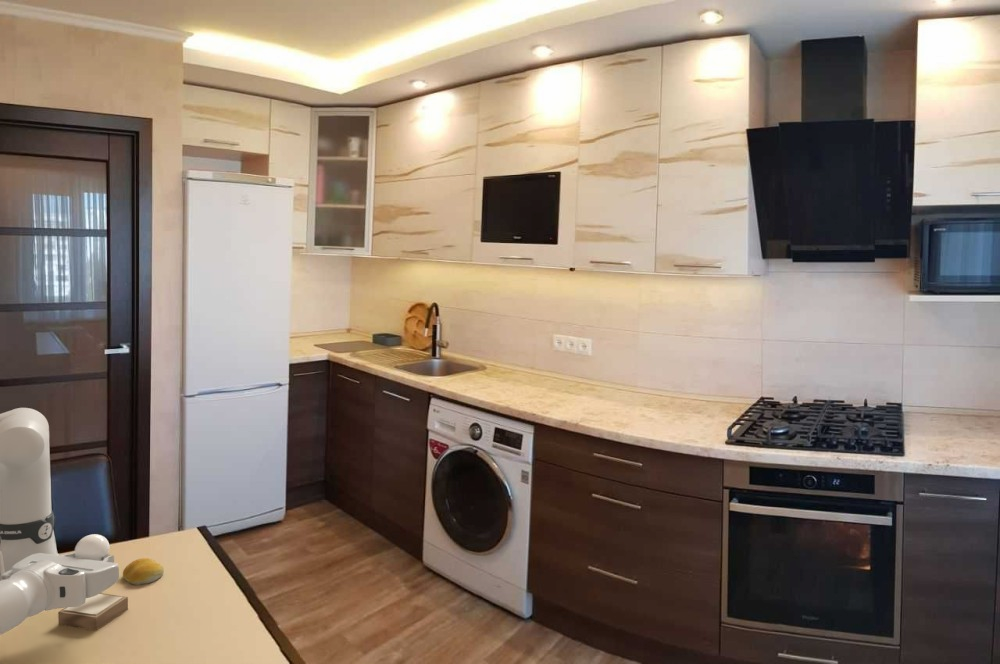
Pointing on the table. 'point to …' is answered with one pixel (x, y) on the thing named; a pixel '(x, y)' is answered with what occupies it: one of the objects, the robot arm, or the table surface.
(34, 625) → the table surface
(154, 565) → the bread roll
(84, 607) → the picture frame
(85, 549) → the lightbulb
